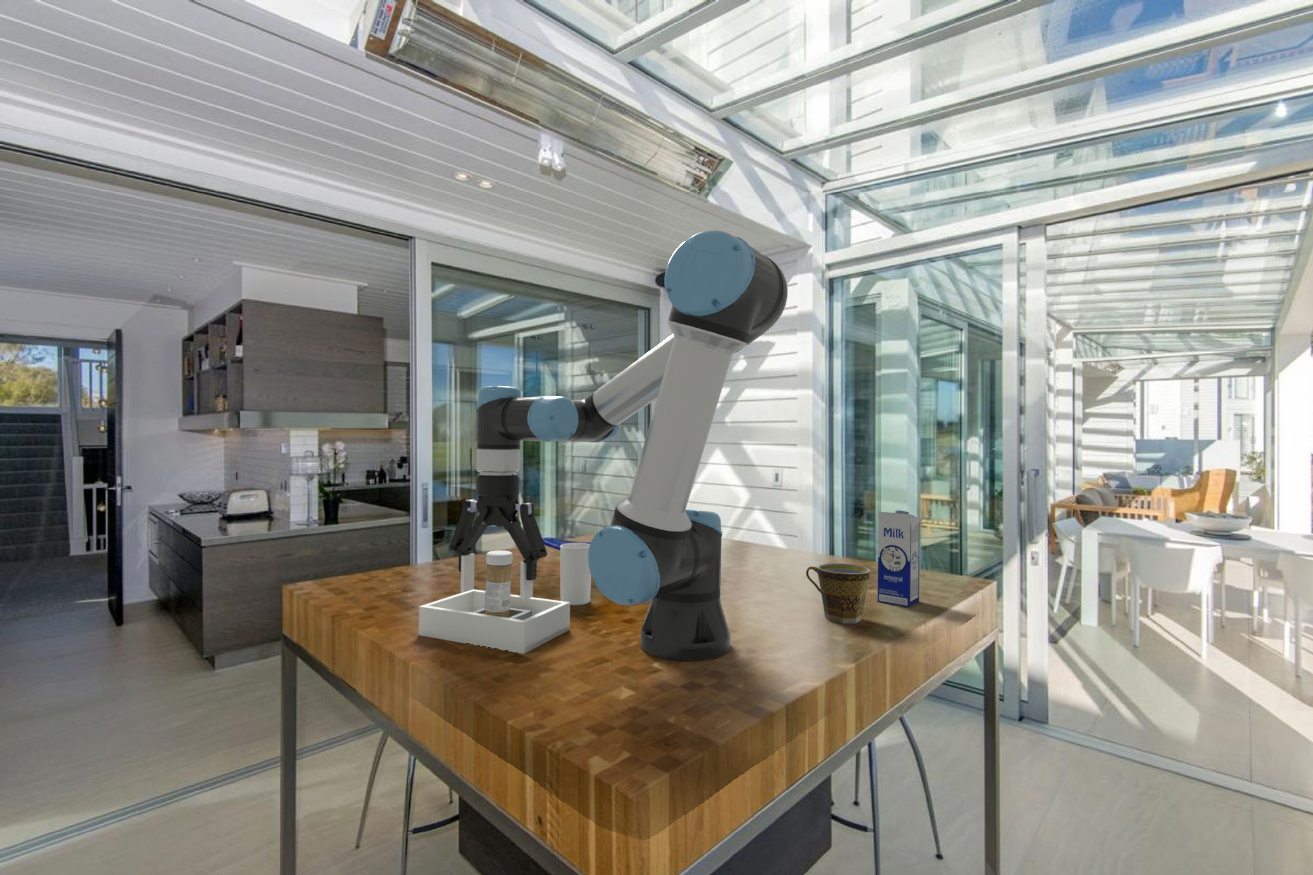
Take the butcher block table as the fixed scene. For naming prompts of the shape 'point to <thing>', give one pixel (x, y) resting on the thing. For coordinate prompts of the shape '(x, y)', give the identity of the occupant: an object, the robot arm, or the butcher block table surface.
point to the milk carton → (898, 558)
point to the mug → (575, 573)
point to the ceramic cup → (842, 590)
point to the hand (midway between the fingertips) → (496, 594)
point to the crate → (495, 621)
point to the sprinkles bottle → (498, 583)
